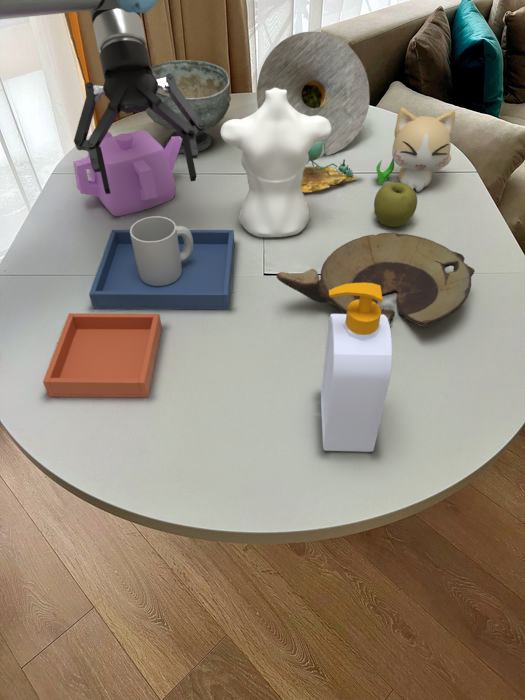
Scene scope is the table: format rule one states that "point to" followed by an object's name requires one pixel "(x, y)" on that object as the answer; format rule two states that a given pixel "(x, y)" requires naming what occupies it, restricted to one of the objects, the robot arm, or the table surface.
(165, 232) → the cup
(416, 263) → the pottery shard
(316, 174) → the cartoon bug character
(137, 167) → the teakettle
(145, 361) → the terracotta tray
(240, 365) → the table surface
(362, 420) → the soap bottle
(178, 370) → the table surface
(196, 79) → the bowl
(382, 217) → the apple
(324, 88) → the disc
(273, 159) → the torso sculpture
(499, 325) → the table surface
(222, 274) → the blue tray
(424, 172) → the kitten
